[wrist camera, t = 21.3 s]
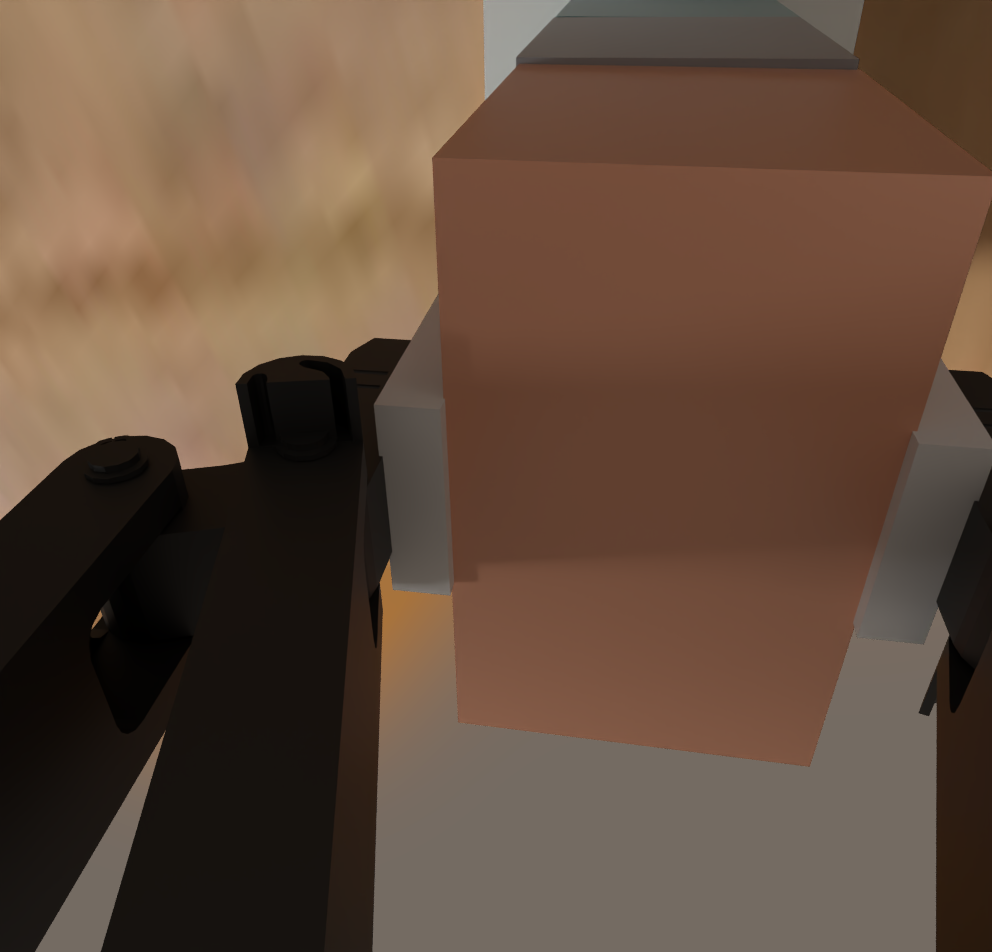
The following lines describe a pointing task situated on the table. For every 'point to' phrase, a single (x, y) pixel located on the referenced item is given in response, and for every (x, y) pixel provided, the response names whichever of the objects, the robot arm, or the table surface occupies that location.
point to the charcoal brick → (687, 43)
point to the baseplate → (534, 3)
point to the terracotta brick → (683, 388)
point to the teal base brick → (675, 8)
